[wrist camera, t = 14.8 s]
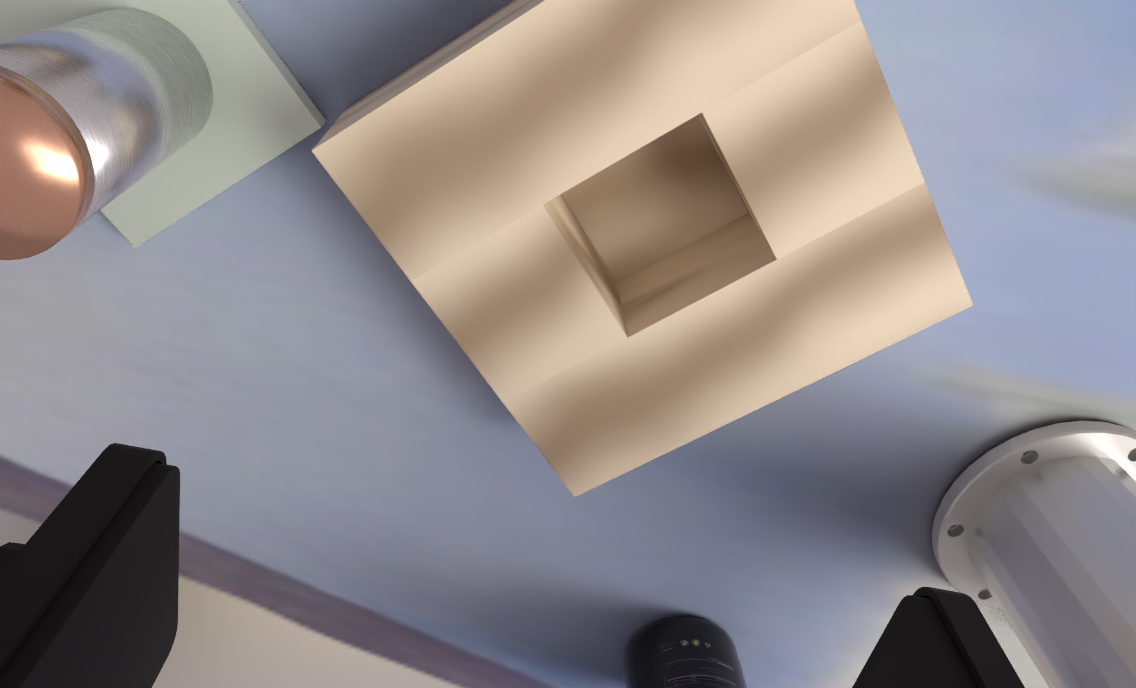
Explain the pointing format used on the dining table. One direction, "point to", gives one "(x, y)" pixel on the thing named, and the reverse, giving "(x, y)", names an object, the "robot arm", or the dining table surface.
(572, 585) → the dining table surface
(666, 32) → the housing
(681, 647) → the supplement bottle
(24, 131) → the copper topped silver cylinder
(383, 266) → the dining table surface
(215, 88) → the pad
